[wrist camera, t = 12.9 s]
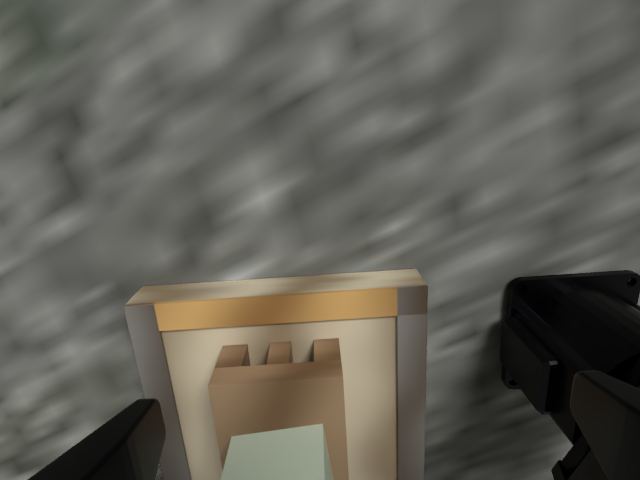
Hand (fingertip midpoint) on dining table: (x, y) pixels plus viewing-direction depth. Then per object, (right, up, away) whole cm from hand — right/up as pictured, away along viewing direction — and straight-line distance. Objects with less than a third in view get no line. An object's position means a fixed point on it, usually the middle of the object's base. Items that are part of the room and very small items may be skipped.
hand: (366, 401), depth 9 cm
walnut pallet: (-3, -6, +12) cm, 14 cm away
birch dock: (-3, -5, +14) cm, 15 cm away
